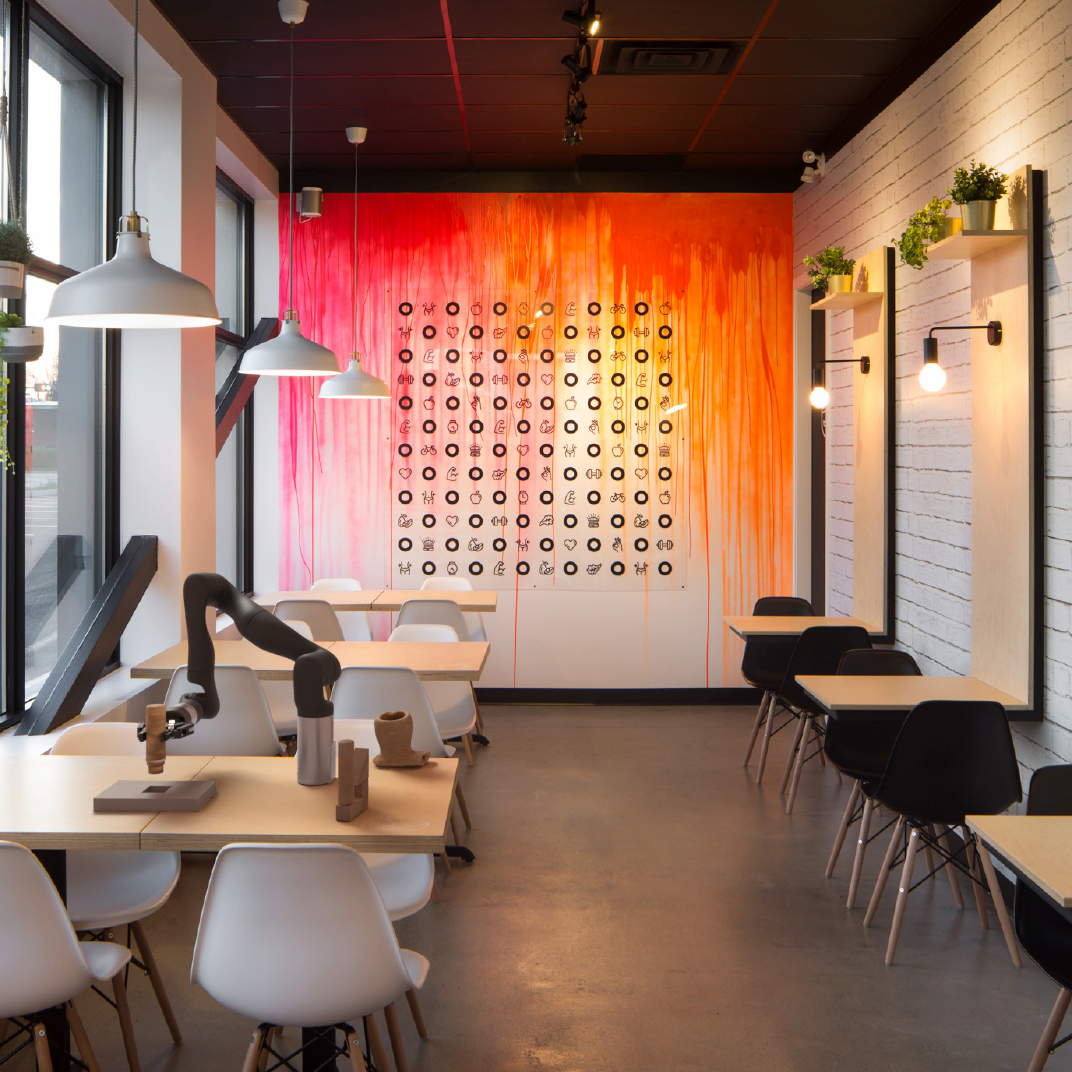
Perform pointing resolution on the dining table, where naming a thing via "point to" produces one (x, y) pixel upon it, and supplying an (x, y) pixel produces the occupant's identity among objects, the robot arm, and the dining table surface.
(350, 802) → the wooden block
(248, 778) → the dining table surface
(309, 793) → the dining table surface
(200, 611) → the robot arm
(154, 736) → the oak peg
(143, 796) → the grayish brown board
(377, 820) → the dining table surface
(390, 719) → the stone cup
